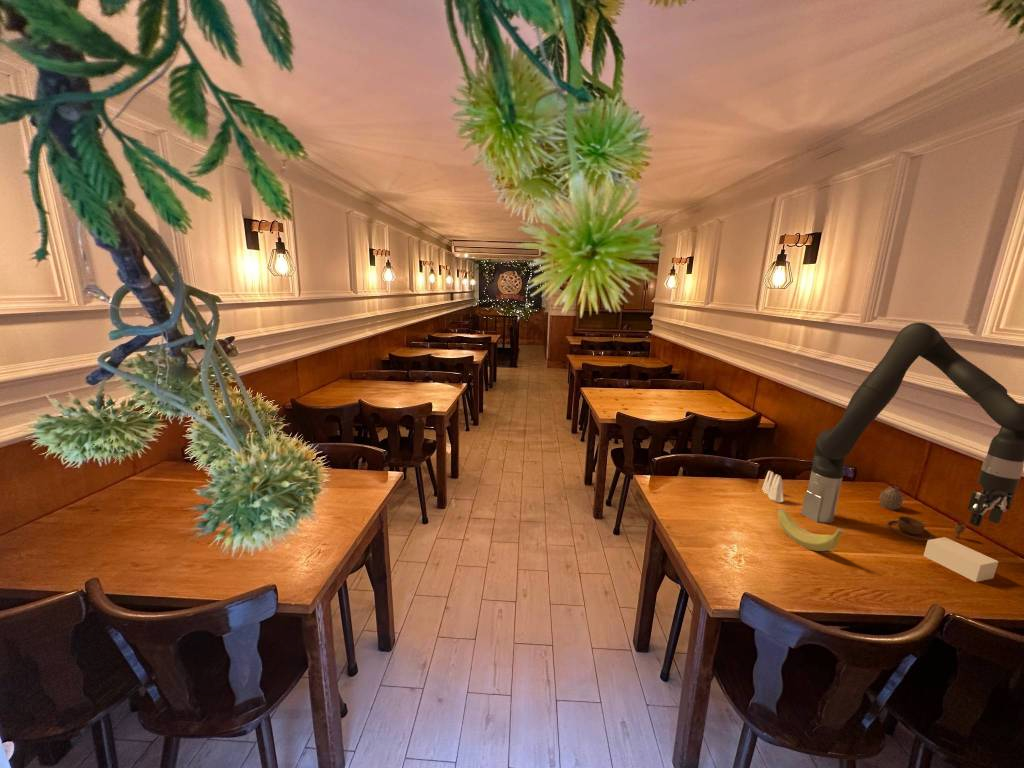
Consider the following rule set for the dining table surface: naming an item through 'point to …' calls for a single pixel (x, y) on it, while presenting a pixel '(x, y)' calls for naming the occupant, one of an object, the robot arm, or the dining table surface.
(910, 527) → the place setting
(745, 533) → the dining table surface
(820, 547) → the banana
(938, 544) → the block
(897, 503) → the grey rounded lump
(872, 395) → the robot arm
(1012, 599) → the dining table surface
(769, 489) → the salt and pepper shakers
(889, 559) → the dining table surface
